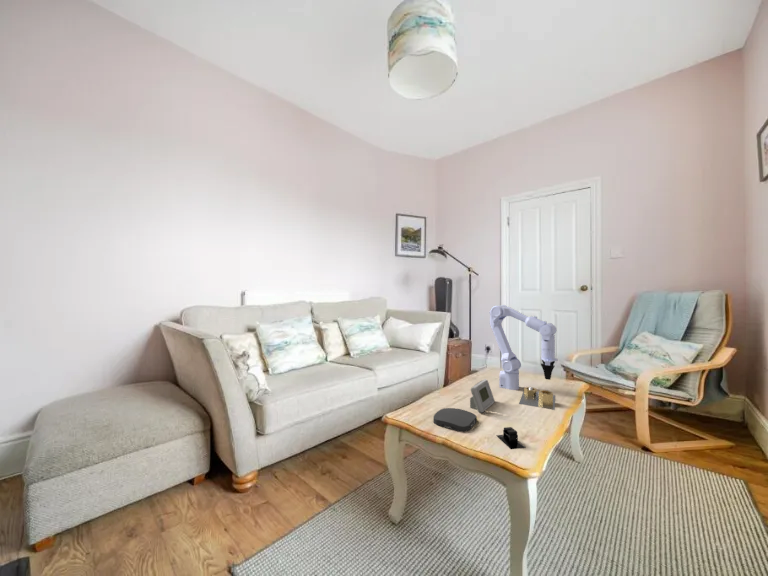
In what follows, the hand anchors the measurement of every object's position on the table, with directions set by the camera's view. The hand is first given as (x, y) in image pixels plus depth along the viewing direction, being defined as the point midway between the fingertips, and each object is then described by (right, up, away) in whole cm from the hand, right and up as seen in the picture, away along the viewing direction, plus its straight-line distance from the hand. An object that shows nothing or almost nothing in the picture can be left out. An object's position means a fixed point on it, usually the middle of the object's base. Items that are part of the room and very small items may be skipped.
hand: (548, 377), depth 146 cm
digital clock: (-35, -10, -12) cm, 38 cm away
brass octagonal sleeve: (-6, -9, -9) cm, 14 cm away
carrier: (-7, -10, -4) cm, 13 cm away
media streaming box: (-51, -10, -26) cm, 58 cm away
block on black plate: (-35, -10, -42) cm, 56 cm away
